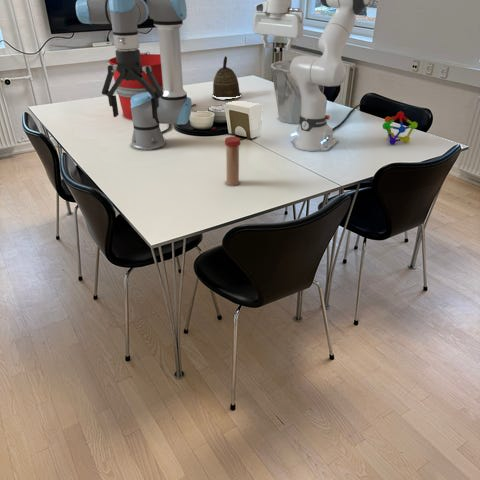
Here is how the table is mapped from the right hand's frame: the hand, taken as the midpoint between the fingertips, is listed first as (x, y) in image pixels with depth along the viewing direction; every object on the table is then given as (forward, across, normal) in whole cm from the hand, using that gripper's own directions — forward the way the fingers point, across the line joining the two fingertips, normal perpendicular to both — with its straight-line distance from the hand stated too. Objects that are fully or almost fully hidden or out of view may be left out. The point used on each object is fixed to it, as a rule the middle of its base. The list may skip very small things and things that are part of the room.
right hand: (276, 49), depth 162 cm
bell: (+46, +89, -71) cm, 123 cm away
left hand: (+18, +20, +51) cm, 58 cm away
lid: (+28, +1, +24) cm, 37 cm away
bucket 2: (+46, +30, -62) cm, 82 cm away
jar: (+46, +1, +24) cm, 52 cm away
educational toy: (+46, -28, -61) cm, 81 cm away
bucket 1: (+46, +99, -13) cm, 110 cm away
